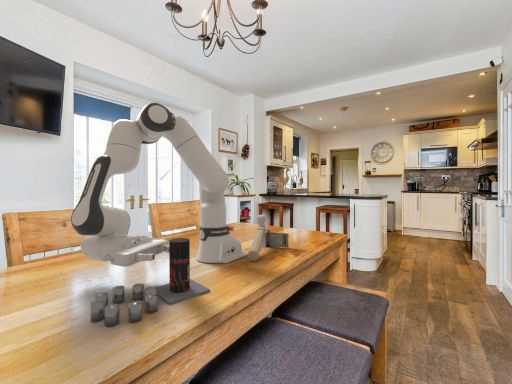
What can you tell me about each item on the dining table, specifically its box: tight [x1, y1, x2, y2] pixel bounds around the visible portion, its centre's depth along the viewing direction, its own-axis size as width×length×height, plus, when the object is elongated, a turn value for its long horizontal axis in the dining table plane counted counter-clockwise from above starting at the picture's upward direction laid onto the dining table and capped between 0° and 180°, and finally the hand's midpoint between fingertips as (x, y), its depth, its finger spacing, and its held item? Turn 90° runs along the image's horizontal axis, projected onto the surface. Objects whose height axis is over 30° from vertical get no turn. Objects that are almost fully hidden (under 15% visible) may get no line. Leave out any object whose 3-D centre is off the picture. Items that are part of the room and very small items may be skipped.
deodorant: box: [168, 237, 191, 293], centre depth 81 cm, size 6×6×15 cm
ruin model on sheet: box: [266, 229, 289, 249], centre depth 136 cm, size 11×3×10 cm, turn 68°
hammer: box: [247, 214, 267, 262], centre depth 126 cm, size 16×5×30 cm
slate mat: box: [156, 278, 211, 305], centre depth 81 cm, size 13×13×1 cm
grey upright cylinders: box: [89, 282, 159, 328], centre depth 69 cm, size 16×16×4 cm
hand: (163, 253), depth 83 cm, fingers open, 8 cm apart
